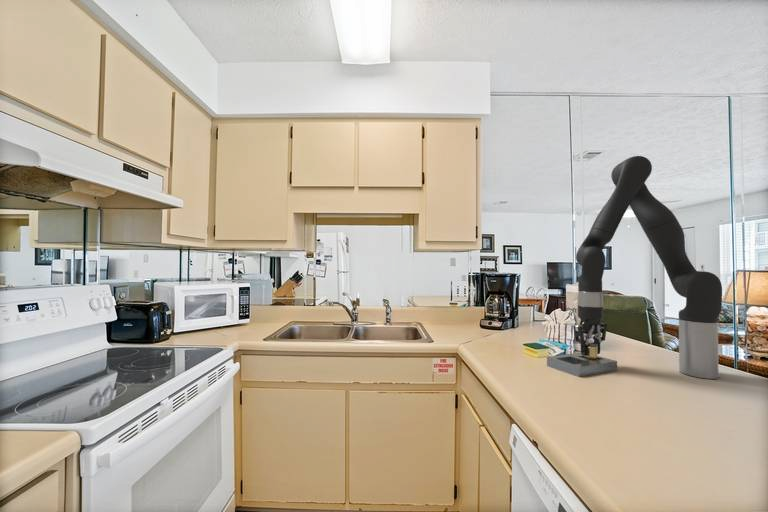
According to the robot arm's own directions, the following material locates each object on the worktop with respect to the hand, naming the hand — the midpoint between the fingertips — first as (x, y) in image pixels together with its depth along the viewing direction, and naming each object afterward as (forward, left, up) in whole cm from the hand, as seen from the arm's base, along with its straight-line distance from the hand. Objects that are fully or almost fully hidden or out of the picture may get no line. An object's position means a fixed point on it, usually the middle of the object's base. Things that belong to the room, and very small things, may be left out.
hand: (590, 354), depth 114 cm
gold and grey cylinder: (0, 0, -4) cm, 4 cm away
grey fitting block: (+5, 0, -4) cm, 6 cm away
